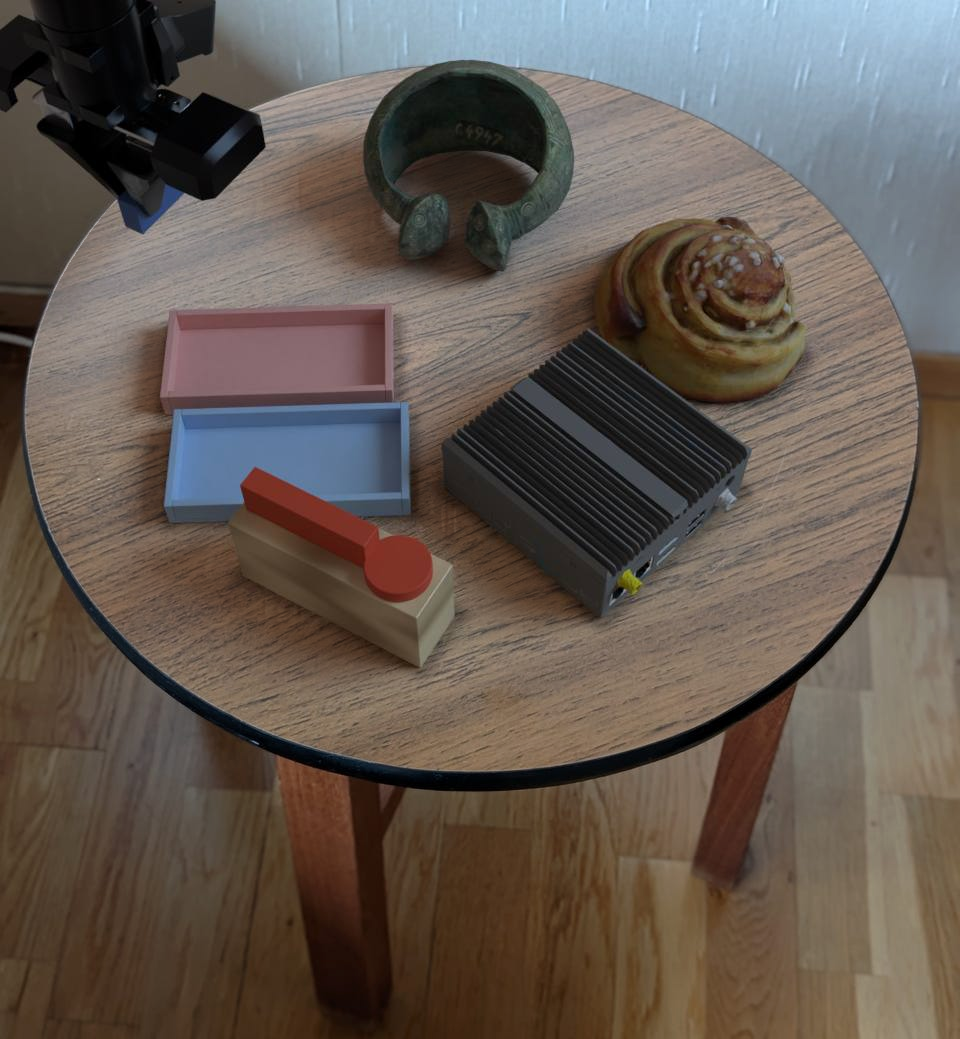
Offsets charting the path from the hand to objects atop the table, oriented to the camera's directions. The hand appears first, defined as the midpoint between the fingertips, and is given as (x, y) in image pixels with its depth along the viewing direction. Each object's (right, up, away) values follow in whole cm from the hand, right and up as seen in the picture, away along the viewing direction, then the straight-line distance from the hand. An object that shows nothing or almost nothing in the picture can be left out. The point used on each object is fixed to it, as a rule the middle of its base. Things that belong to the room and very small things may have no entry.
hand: (142, 207), depth 88 cm
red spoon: (+14, -22, -13) cm, 29 cm away
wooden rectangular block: (+14, -25, -8) cm, 30 cm away
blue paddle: (+2, +3, +3) cm, 5 cm away
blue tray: (+10, -17, -3) cm, 20 cm away
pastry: (+37, -7, +4) cm, 38 cm away
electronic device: (+29, -19, -3) cm, 35 cm away
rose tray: (+9, -10, +2) cm, 14 cm away
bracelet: (+21, +2, +10) cm, 24 cm away
